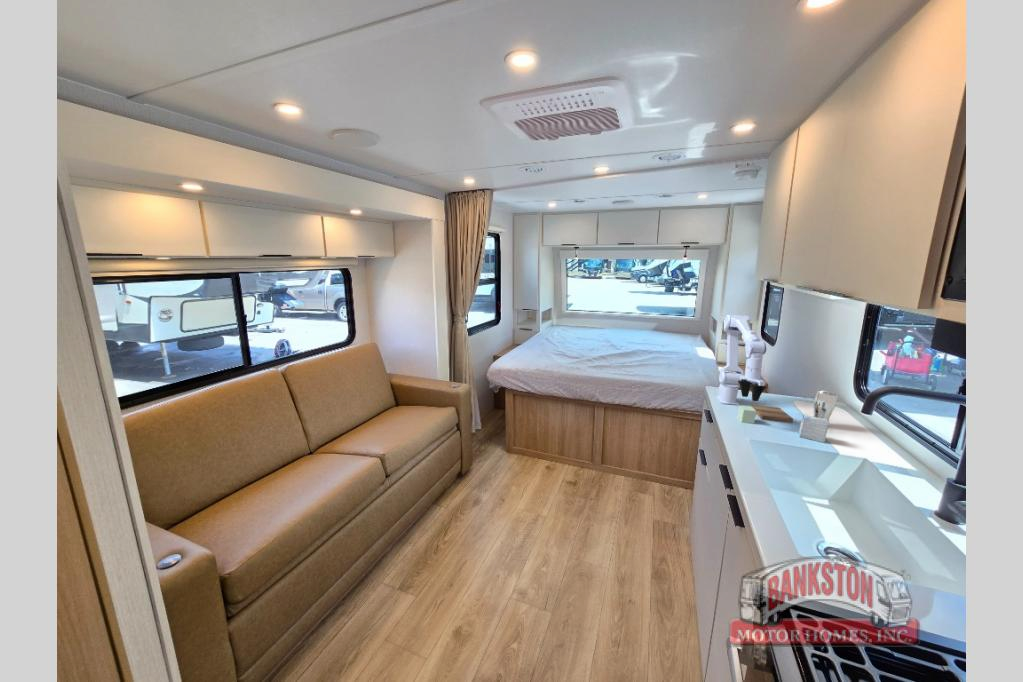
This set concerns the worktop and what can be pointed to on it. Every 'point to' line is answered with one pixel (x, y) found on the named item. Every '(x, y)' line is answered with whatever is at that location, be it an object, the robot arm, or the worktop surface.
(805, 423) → the medicine box
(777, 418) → the walnut base
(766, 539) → the worktop surface
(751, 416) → the sage block
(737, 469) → the worktop surface
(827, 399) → the beer glass
